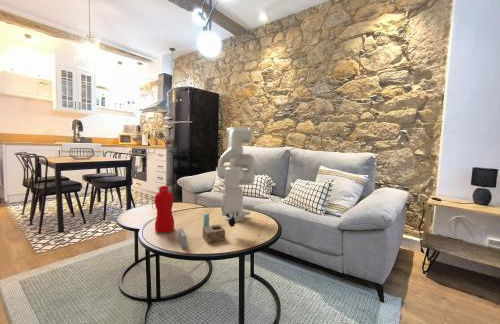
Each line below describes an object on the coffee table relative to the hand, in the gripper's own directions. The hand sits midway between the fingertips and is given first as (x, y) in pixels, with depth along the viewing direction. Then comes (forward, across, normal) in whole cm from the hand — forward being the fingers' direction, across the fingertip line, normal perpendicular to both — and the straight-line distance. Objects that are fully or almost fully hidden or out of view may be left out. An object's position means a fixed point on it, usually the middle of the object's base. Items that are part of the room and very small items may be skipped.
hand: (231, 225), depth 122 cm
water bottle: (+5, +32, -23) cm, 39 cm away
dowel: (+5, +10, -11) cm, 16 cm away
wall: (+6, +25, -1) cm, 26 cm away
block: (+6, +10, -1) cm, 11 cm away
